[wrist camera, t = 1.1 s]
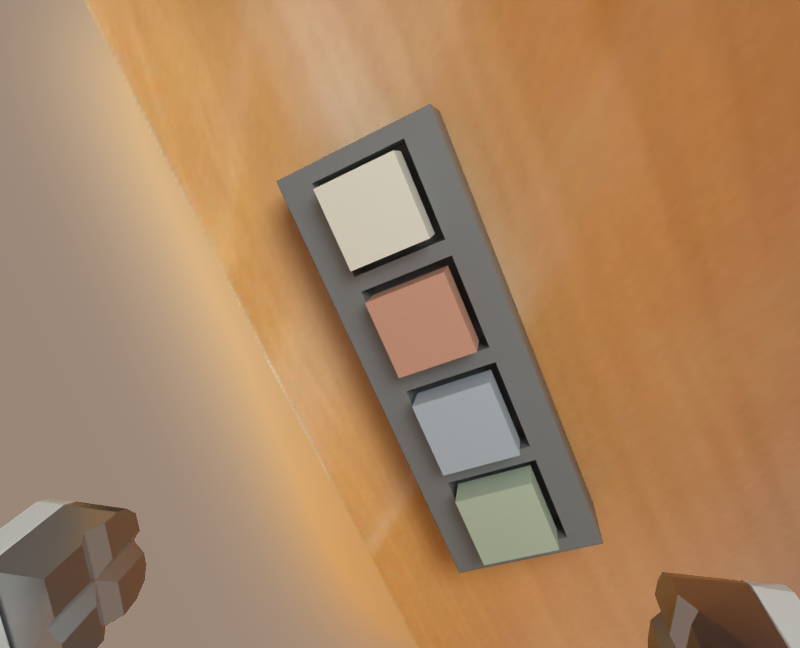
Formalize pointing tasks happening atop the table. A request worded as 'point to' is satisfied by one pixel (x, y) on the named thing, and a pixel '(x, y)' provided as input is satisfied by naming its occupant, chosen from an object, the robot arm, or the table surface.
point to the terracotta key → (423, 322)
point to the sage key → (507, 516)
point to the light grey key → (467, 423)
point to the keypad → (488, 311)
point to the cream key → (374, 210)
